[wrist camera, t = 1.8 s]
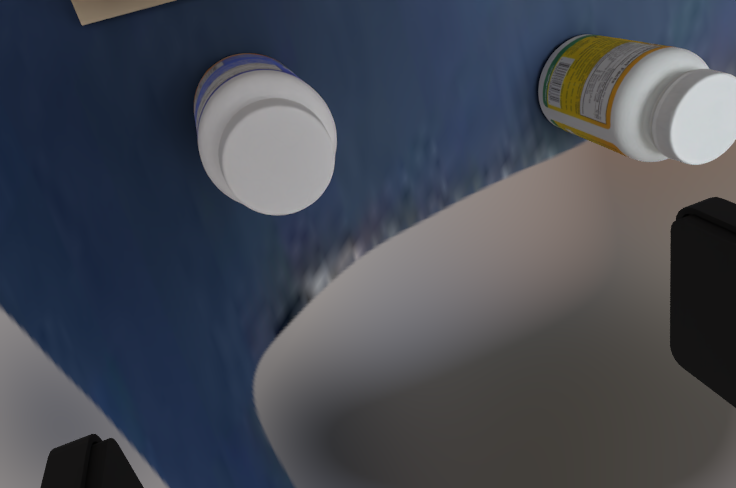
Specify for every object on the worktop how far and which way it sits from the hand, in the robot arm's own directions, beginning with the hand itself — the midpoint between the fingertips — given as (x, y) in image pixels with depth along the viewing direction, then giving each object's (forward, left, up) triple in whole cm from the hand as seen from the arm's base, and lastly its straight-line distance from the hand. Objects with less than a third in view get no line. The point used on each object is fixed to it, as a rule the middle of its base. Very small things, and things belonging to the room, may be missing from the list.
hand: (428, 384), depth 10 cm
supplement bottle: (+4, +18, -23) cm, 29 cm away
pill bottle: (0, 0, -23) cm, 23 cm away
